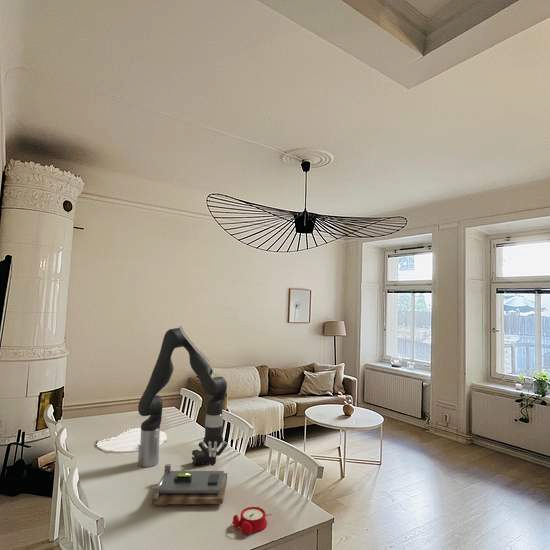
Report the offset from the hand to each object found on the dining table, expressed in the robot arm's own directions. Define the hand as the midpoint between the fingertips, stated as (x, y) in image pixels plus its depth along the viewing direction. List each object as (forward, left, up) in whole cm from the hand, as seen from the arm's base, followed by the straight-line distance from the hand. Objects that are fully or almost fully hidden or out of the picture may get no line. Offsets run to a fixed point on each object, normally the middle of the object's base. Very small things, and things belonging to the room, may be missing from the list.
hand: (212, 464), depth 164 cm
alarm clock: (+17, -25, -12) cm, 33 cm away
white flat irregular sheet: (-54, +63, -12) cm, 84 cm away
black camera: (-8, +30, -12) cm, 33 cm away
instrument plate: (-9, -1, -7) cm, 11 cm away
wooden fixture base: (-8, -1, -11) cm, 14 cm away
